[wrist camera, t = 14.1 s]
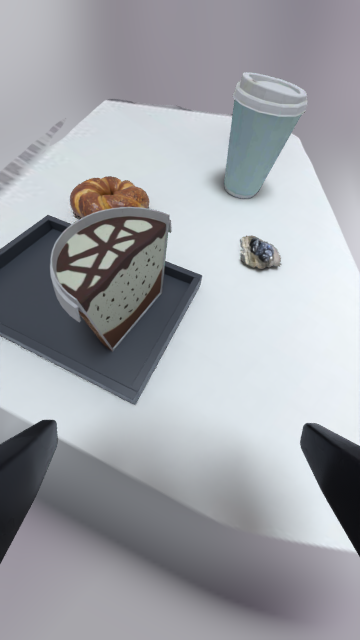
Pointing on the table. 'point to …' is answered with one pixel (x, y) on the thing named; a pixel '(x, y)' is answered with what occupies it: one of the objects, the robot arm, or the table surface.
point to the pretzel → (106, 196)
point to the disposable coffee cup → (259, 129)
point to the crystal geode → (259, 253)
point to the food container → (111, 268)
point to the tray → (77, 337)
